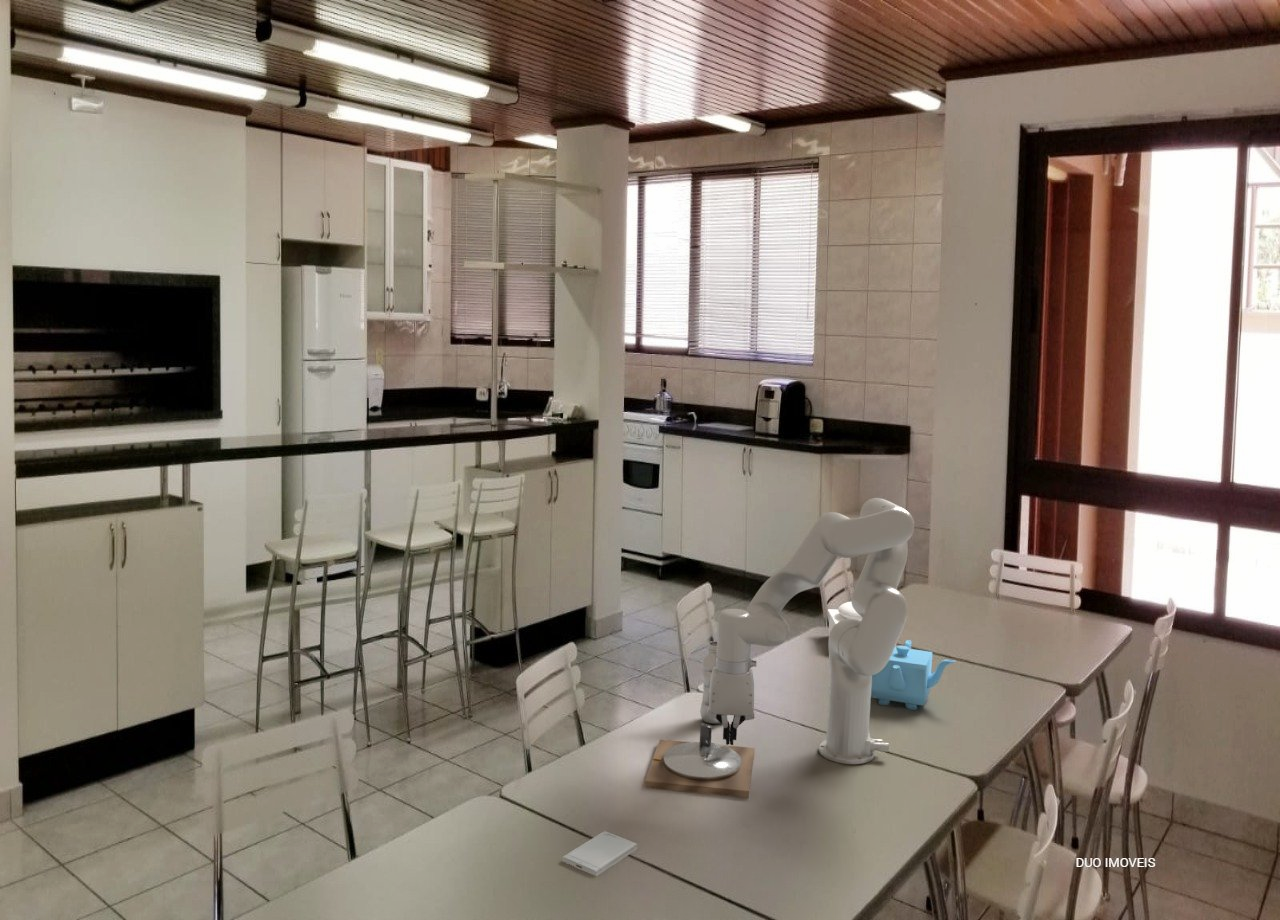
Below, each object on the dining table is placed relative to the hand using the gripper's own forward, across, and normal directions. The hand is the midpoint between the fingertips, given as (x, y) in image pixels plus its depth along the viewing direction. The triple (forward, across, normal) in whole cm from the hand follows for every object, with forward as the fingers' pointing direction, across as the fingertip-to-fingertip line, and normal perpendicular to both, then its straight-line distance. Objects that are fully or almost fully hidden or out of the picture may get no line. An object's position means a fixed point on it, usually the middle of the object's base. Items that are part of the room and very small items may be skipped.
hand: (729, 742), depth 237 cm
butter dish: (+4, -43, -86) cm, 97 cm away
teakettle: (+4, -47, -41) cm, 63 cm away
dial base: (+4, +6, +6) cm, 10 cm away
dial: (+2, +6, +6) cm, 9 cm away
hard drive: (+5, +25, +44) cm, 51 cm away
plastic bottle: (+4, +3, -22) cm, 22 cm away
